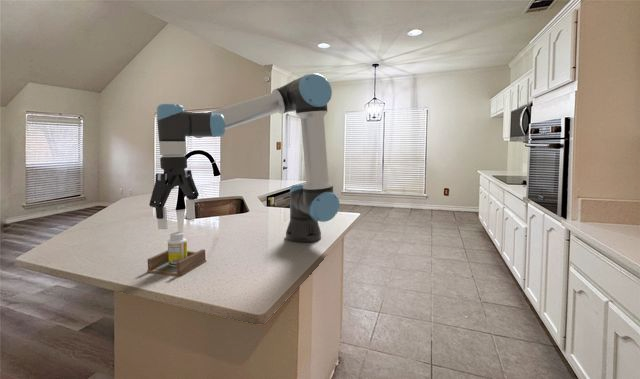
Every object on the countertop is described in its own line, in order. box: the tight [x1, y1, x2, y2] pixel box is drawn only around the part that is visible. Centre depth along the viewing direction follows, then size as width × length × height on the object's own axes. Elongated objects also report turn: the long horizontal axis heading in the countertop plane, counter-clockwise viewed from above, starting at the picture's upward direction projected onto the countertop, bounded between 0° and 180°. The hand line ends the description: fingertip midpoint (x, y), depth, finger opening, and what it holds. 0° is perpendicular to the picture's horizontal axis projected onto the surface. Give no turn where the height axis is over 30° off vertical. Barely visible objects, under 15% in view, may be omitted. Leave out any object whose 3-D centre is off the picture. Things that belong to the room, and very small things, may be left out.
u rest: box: [146, 249, 207, 277], centre depth 105 cm, size 12×13×4 cm
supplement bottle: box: [167, 231, 188, 267], centre depth 104 cm, size 6×6×10 cm
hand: (177, 223), depth 104 cm, fingers open, 13 cm apart
